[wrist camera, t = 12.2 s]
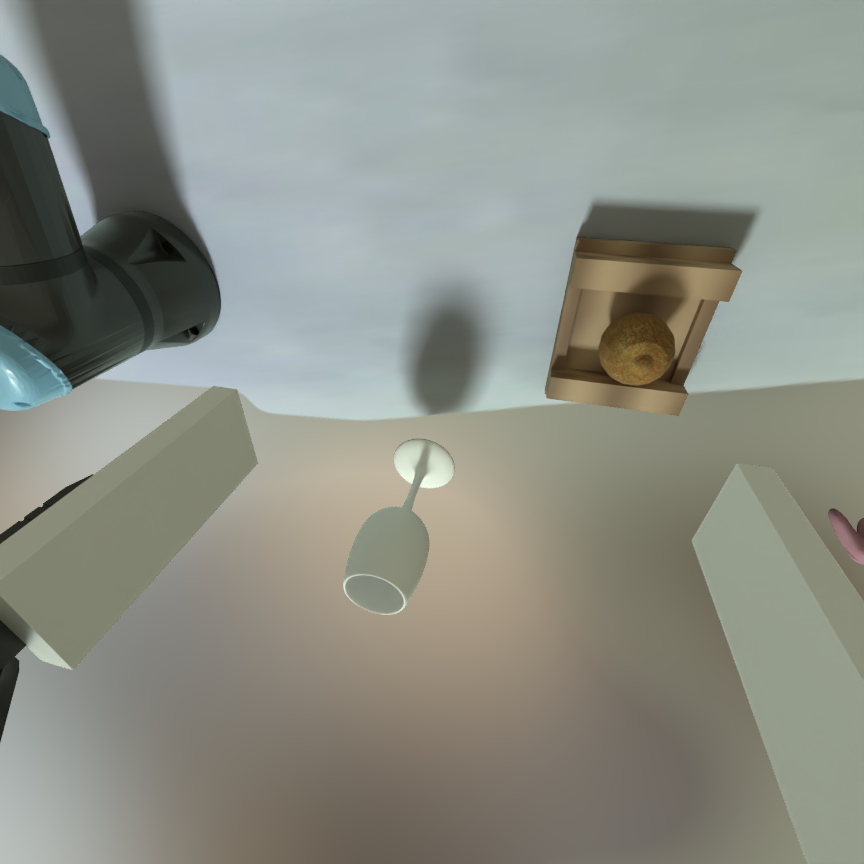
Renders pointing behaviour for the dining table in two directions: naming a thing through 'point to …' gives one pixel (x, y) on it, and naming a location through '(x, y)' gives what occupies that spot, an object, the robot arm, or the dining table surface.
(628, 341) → the fruit
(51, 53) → the dining table surface
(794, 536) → the robot arm
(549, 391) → the cradle
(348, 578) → the wineglass
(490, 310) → the dining table surface
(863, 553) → the video game controller
